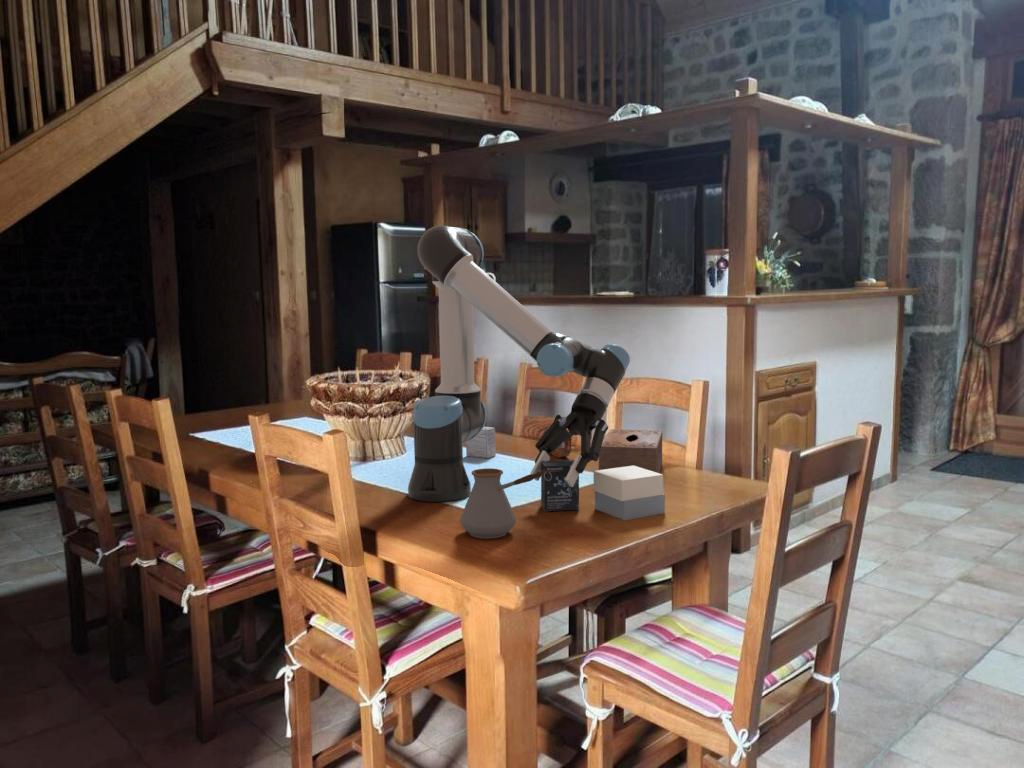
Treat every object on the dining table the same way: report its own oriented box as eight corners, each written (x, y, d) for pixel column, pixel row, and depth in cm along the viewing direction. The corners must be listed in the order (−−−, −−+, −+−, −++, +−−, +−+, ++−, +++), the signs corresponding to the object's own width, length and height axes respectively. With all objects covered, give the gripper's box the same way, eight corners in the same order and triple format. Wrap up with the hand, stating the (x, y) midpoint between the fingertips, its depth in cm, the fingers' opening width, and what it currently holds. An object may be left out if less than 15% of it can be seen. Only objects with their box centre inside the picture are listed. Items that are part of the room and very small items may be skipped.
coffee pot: (448, 535, 170) (446, 462, 168) (484, 522, 179) (483, 453, 177) (532, 554, 157) (531, 476, 155) (567, 539, 166) (566, 465, 164)
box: (545, 512, 186) (544, 465, 185) (540, 505, 192) (540, 460, 191) (579, 510, 187) (579, 464, 186) (574, 504, 193) (574, 459, 192)
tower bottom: (624, 521, 179) (624, 501, 179) (594, 510, 189) (594, 490, 188) (664, 514, 185) (664, 494, 184) (634, 503, 194) (634, 484, 194)
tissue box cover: (656, 487, 209) (656, 448, 208) (598, 485, 212) (598, 446, 211) (662, 465, 234) (662, 430, 233) (610, 463, 237) (610, 429, 236)
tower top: (621, 501, 179) (621, 480, 178) (593, 490, 189) (593, 470, 188) (663, 494, 184) (663, 474, 183) (633, 484, 194) (633, 465, 193)
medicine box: (496, 456, 249) (495, 427, 248) (487, 458, 245) (487, 429, 244) (474, 453, 253) (473, 425, 252) (465, 456, 249) (465, 427, 248)
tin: (542, 451, 256) (542, 423, 255) (551, 450, 257) (551, 423, 256) (563, 460, 242) (563, 431, 241) (573, 459, 243) (573, 430, 242)
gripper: (638, 415, 192) (598, 497, 182) (562, 407, 206) (521, 482, 196) (625, 394, 187) (584, 477, 177) (548, 388, 201) (506, 464, 191)
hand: (551, 480), depth 186 cm, fingers closed on box, 9 cm apart
